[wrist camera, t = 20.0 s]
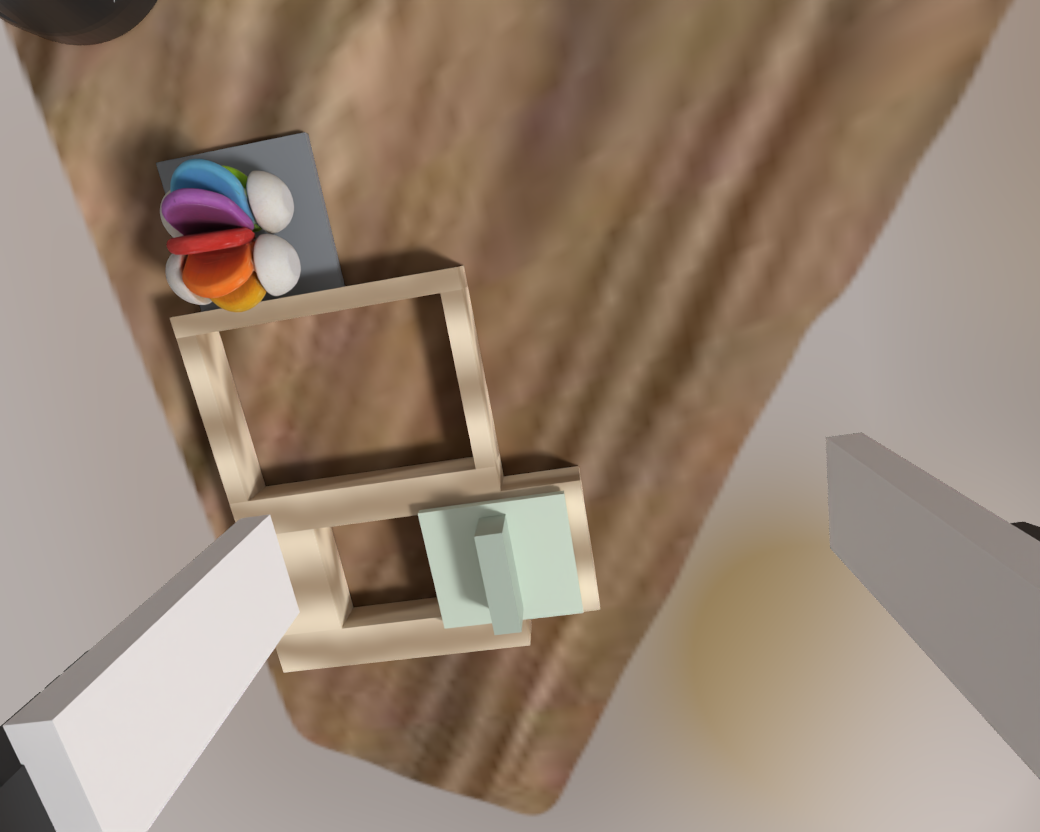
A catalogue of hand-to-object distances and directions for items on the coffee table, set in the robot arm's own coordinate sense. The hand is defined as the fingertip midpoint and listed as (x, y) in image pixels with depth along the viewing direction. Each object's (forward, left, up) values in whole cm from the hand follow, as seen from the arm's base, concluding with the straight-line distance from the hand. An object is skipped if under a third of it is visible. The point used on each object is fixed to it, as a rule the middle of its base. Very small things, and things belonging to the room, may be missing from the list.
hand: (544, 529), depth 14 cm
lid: (+16, -6, -28) cm, 33 cm away
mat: (-11, -20, -32) cm, 39 cm away
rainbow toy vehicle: (-10, -20, -30) cm, 37 cm away
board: (+9, -13, -32) cm, 35 cm away
